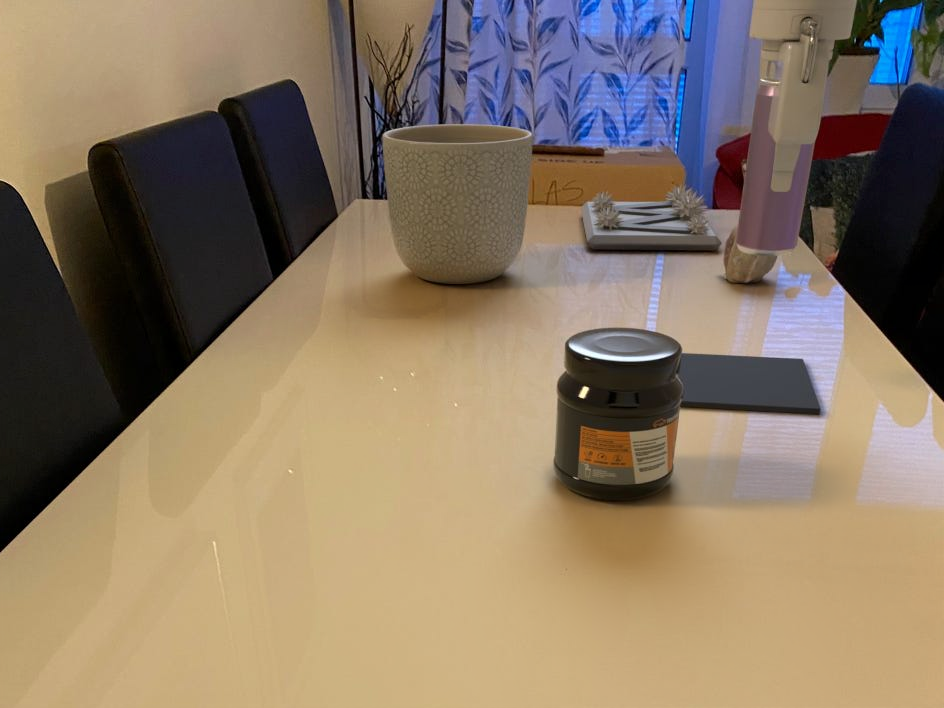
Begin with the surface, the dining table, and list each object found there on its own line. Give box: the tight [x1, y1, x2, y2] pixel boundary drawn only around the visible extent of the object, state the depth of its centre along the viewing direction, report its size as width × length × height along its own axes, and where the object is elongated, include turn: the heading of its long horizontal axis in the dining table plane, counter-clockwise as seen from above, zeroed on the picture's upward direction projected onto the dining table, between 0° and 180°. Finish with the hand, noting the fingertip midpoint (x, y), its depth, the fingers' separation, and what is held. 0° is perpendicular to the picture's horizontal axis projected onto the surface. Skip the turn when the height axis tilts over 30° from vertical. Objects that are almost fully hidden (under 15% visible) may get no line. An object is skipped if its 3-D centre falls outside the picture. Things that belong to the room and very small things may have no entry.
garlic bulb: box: [722, 223, 778, 284], centre depth 142 cm, size 9×8×10 cm
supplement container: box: [552, 327, 684, 501], centre depth 84 cm, size 10×10×12 cm
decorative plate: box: [580, 182, 723, 251], centre depth 169 cm, size 30×22×7 cm
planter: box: [382, 123, 533, 285], centre depth 142 cm, size 21×21×19 cm
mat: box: [677, 352, 821, 415], centre depth 107 cm, size 14×16×1 cm
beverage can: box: [736, 78, 816, 257], centre depth 95 cm, size 6×6×15 cm
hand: (775, 184), depth 96 cm, fingers closed on beverage can, 6 cm apart
